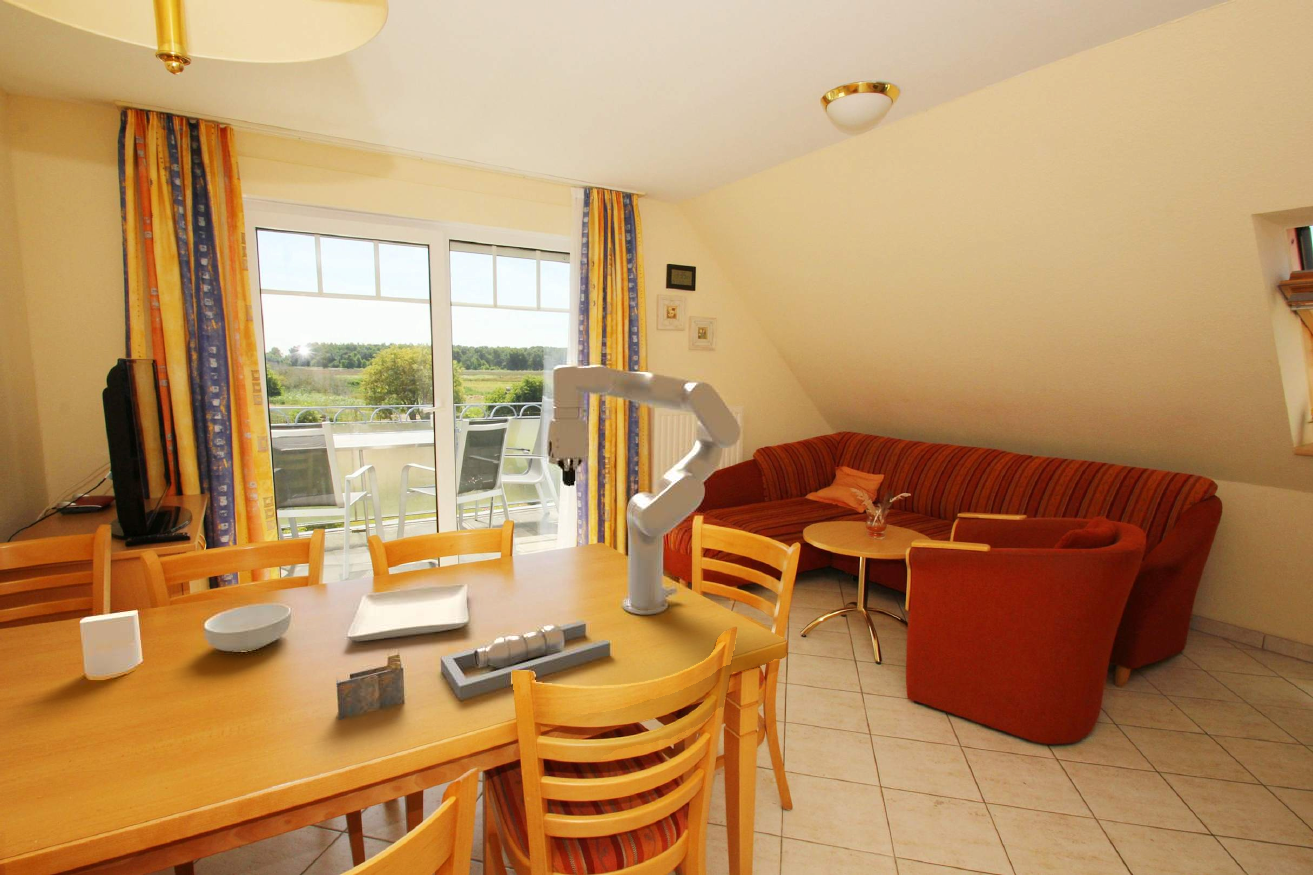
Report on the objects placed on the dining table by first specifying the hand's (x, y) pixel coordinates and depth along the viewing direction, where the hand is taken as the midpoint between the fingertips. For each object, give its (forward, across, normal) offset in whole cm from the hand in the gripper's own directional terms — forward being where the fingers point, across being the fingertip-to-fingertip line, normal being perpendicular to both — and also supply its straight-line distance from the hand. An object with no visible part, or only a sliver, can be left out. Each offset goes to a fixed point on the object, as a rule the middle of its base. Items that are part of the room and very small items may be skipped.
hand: (569, 484), depth 153 cm
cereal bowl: (+35, +70, -25) cm, 82 cm away
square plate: (+36, +35, -20) cm, 54 cm away
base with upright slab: (+35, +94, -27) cm, 104 cm away
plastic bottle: (+32, +10, +16) cm, 37 cm away
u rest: (+35, +18, +18) cm, 43 cm away
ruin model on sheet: (+36, +51, +18) cm, 65 cm away
